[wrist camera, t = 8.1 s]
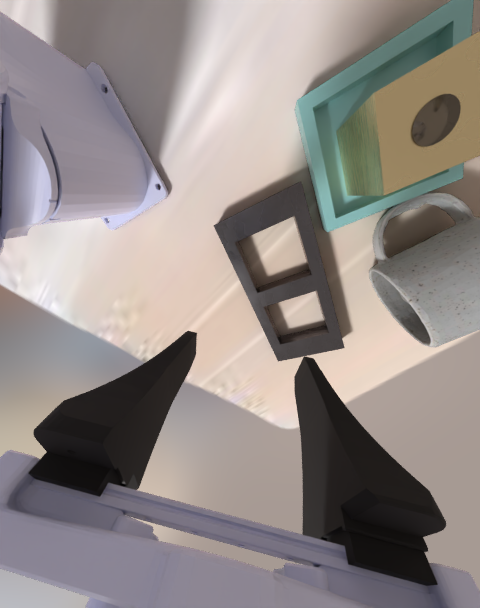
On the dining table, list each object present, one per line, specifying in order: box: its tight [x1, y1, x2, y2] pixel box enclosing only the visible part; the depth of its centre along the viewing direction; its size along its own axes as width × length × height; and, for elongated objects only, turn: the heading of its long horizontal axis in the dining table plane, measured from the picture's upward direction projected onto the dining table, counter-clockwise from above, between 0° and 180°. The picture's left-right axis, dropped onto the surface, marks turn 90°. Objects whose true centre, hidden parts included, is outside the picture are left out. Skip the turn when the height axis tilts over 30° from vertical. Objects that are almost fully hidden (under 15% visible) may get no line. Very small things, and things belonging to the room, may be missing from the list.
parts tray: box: [295, 0, 474, 232], centre depth 13 cm, size 9×9×2 cm
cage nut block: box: [336, 31, 480, 196], centre depth 11 cm, size 4×4×6 cm
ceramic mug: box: [369, 192, 480, 347], centre depth 14 cm, size 11×8×8 cm
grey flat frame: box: [214, 182, 344, 361], centre depth 20 cm, size 18×8×2 cm, turn 25°
